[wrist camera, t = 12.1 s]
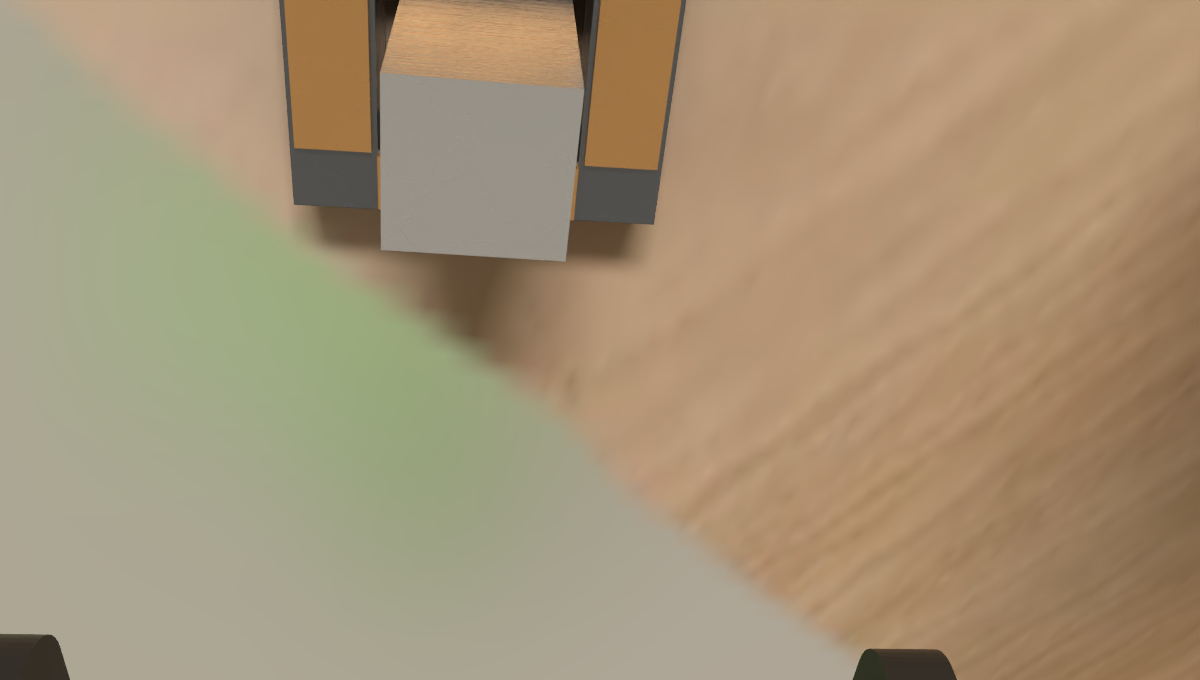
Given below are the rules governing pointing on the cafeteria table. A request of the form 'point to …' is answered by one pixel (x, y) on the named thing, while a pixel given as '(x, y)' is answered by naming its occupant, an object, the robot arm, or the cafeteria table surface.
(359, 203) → the slotted rack
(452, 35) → the steel block
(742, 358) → the cafeteria table surface
